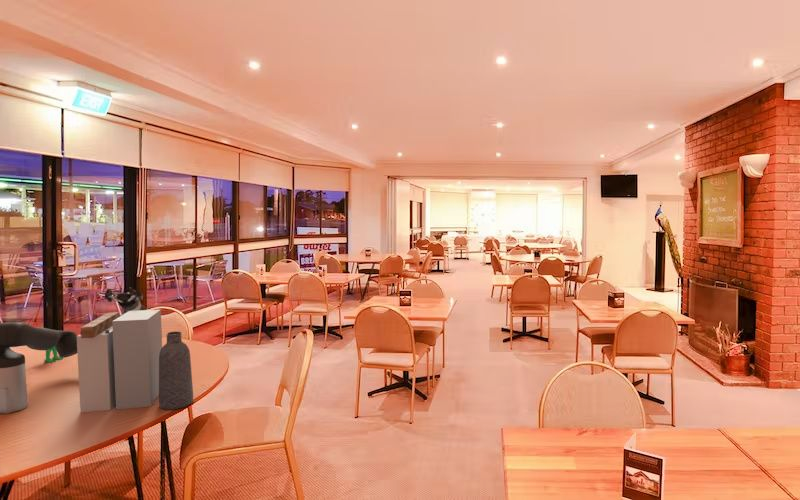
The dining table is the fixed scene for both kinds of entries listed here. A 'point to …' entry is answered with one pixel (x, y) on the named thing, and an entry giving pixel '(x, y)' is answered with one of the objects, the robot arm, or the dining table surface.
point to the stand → (121, 363)
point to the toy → (53, 354)
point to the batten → (98, 325)
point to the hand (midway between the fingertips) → (119, 290)
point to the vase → (175, 374)
